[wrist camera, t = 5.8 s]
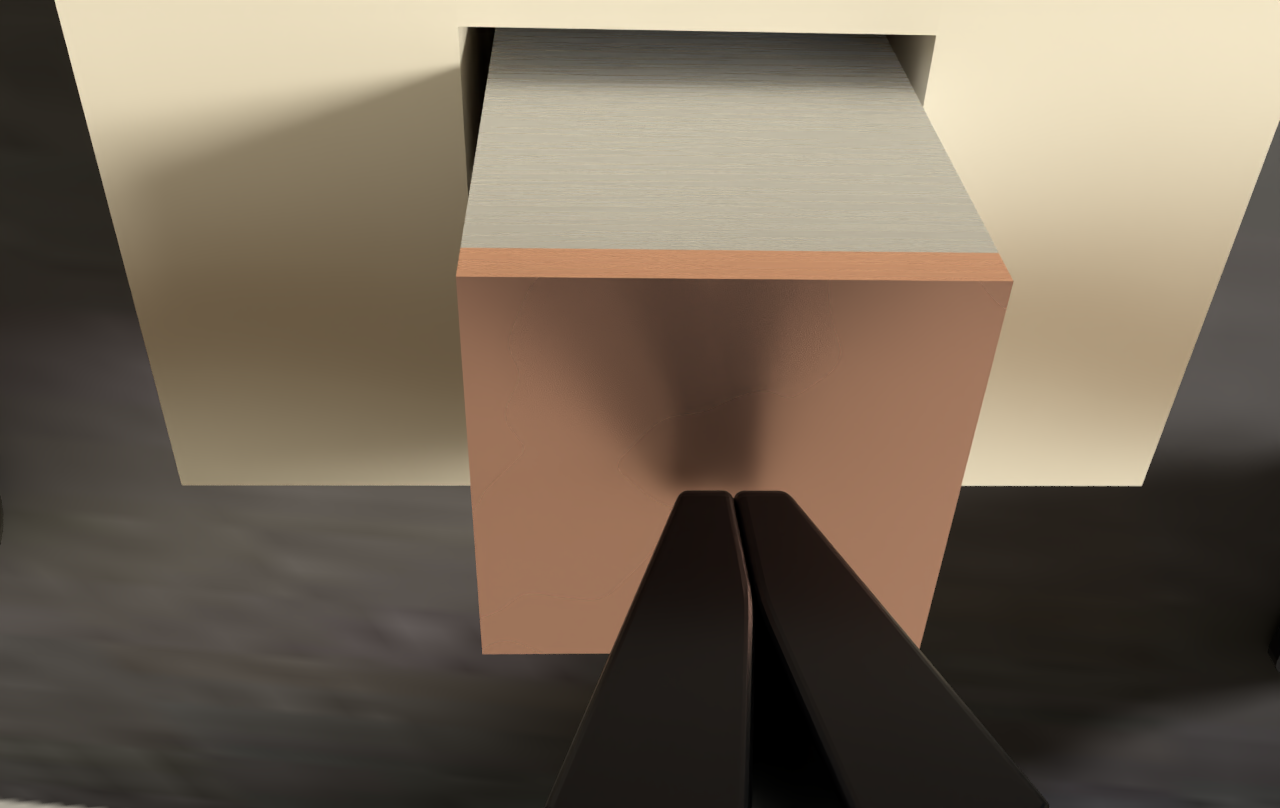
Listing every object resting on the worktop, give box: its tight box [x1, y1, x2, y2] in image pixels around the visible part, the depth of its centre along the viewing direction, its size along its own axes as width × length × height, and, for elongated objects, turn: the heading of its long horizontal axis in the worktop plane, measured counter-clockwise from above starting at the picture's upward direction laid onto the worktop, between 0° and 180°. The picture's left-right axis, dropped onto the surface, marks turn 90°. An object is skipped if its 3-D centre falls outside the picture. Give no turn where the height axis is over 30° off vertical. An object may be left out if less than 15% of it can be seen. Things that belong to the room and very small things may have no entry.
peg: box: [456, 27, 1014, 654], centre depth 12 cm, size 4×4×6 cm
